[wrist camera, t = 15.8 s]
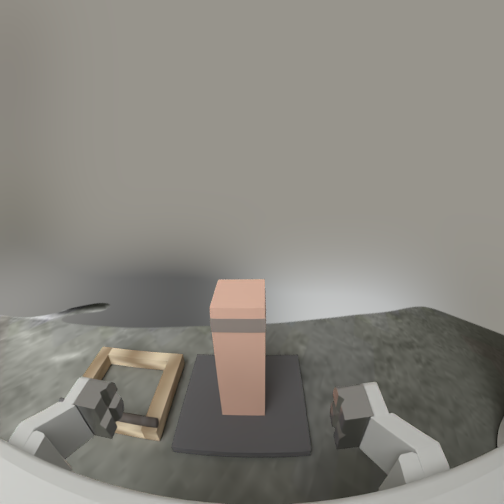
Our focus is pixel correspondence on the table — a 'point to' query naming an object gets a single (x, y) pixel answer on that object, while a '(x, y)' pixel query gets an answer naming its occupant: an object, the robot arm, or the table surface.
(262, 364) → the block
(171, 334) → the table surface
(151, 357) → the frame
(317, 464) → the table surface
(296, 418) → the mat
